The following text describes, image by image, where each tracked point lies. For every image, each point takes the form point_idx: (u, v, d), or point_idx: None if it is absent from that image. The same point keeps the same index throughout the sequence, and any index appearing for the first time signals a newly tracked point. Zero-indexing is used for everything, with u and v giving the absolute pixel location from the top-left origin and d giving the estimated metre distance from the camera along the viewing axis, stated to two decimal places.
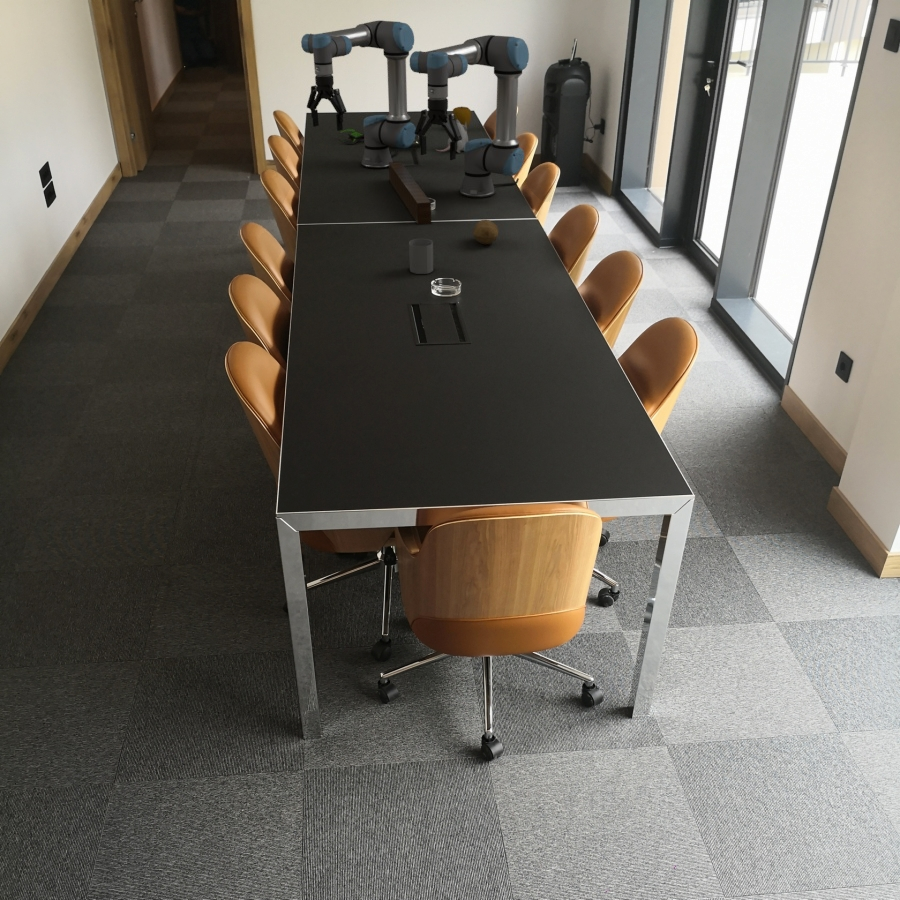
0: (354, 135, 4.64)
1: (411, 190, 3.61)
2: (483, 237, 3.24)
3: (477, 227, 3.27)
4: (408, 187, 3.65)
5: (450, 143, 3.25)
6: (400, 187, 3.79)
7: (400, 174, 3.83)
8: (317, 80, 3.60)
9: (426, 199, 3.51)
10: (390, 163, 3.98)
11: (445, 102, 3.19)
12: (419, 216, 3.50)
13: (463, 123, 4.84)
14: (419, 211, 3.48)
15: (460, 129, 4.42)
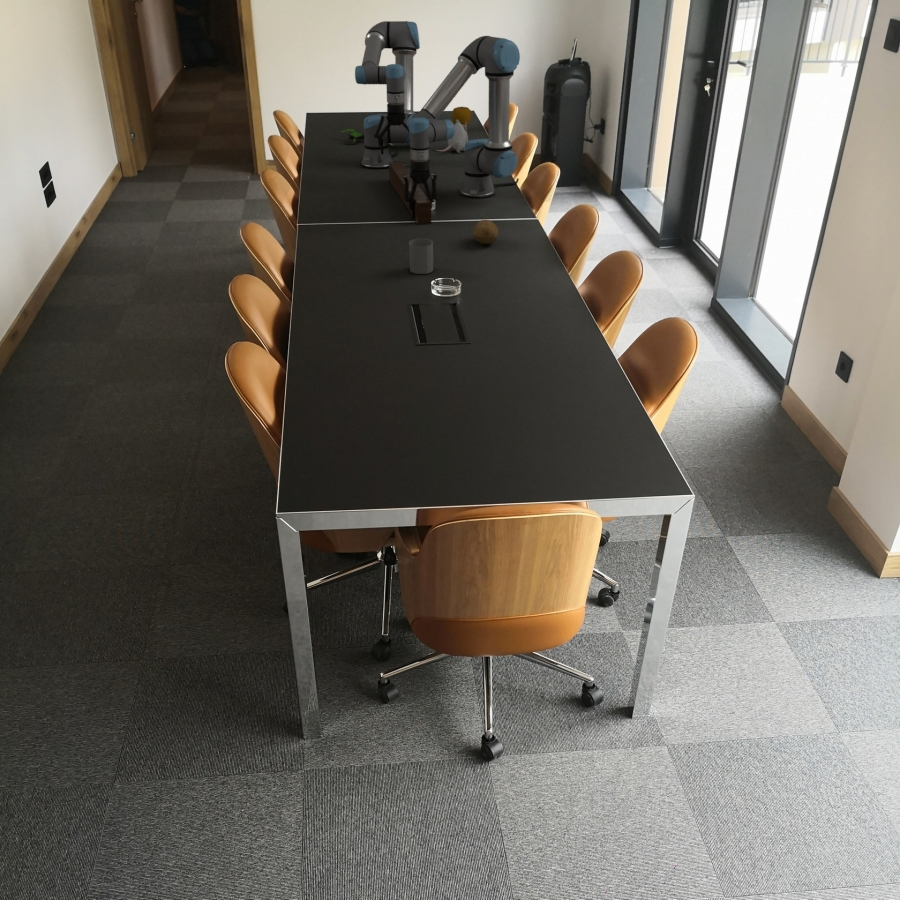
0: (354, 135, 4.64)
1: None
2: (483, 237, 3.24)
3: (477, 227, 3.27)
4: None
5: None
6: (400, 187, 3.79)
7: (400, 174, 3.83)
8: (395, 108, 3.77)
9: (426, 199, 3.51)
10: (390, 163, 3.98)
11: None
12: (419, 216, 3.50)
13: (463, 123, 4.84)
14: (419, 211, 3.48)
15: (460, 129, 4.42)
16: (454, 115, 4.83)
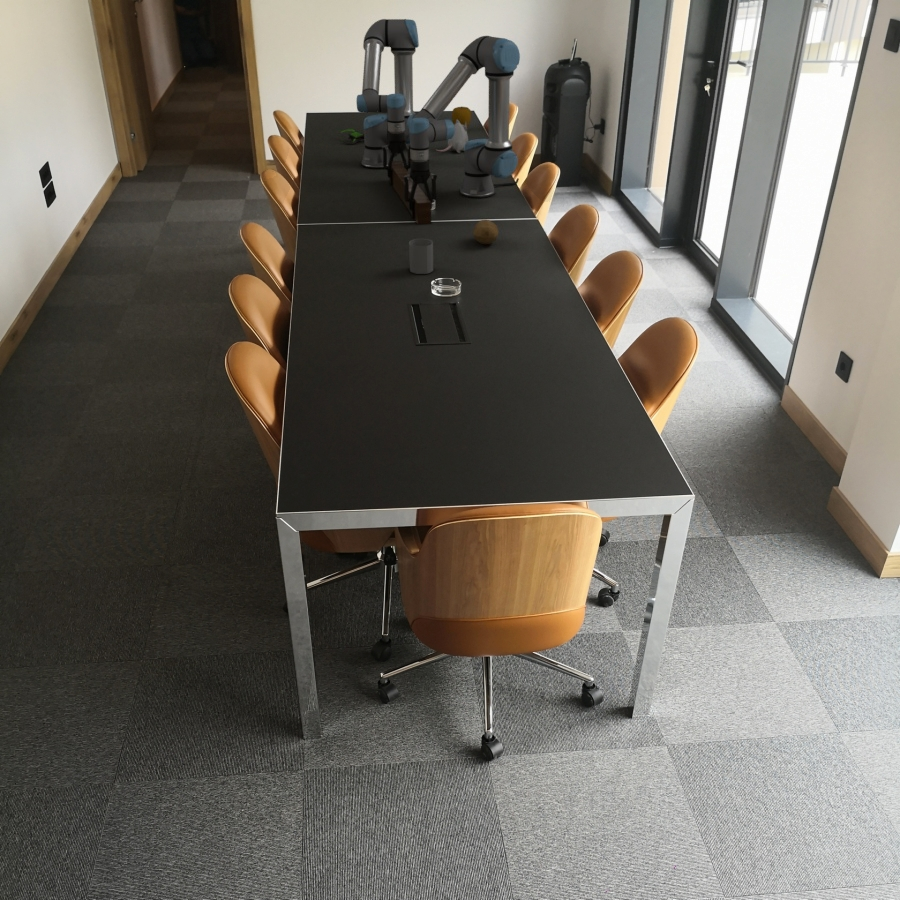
0: (354, 135, 4.64)
1: None
2: (483, 237, 3.24)
3: (477, 227, 3.27)
4: None
5: None
6: (400, 187, 3.79)
7: (400, 174, 3.83)
8: (396, 137, 3.84)
9: (426, 199, 3.51)
10: None
11: None
12: (419, 216, 3.50)
13: (463, 123, 4.84)
14: (419, 211, 3.48)
15: (460, 129, 4.42)
16: (454, 115, 4.83)
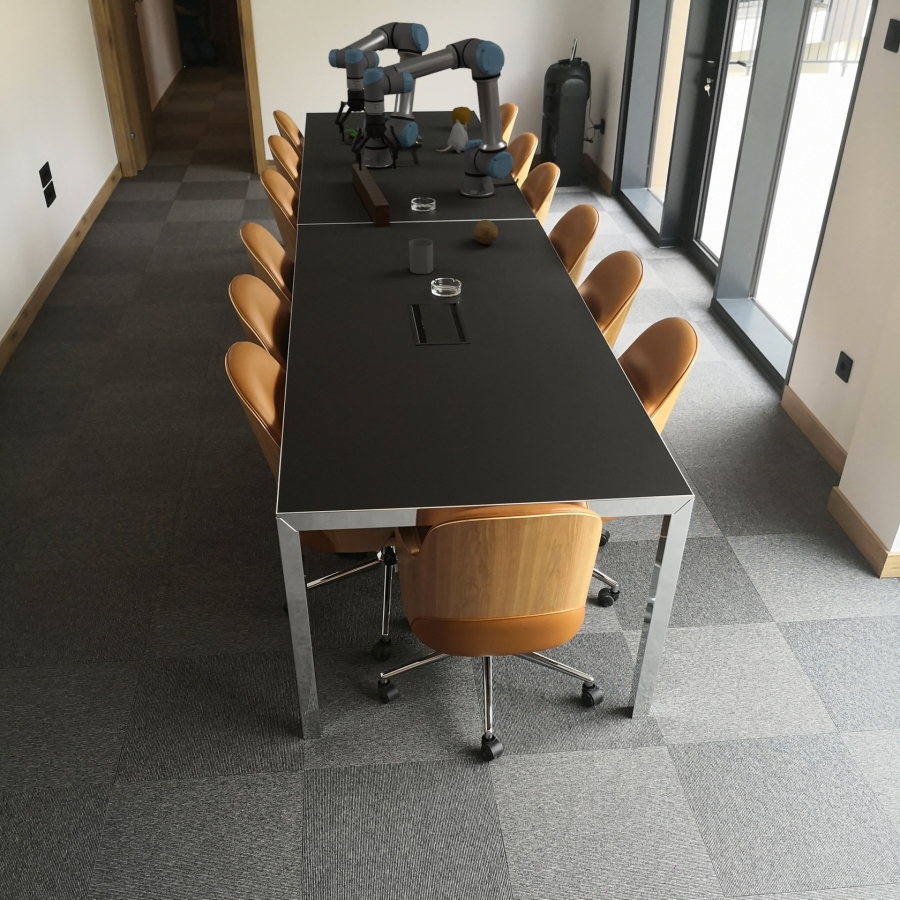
0: (354, 135, 4.64)
1: (370, 193, 3.58)
2: (483, 237, 3.24)
3: (477, 227, 3.27)
4: (368, 189, 3.63)
5: (393, 153, 3.41)
6: (361, 189, 3.76)
7: (362, 176, 3.80)
8: (356, 94, 3.71)
9: (385, 201, 3.48)
10: (353, 165, 3.95)
11: (384, 115, 3.33)
12: (377, 218, 3.47)
13: (463, 123, 4.84)
14: (377, 213, 3.46)
15: (460, 129, 4.42)
16: (454, 115, 4.83)
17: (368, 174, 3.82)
